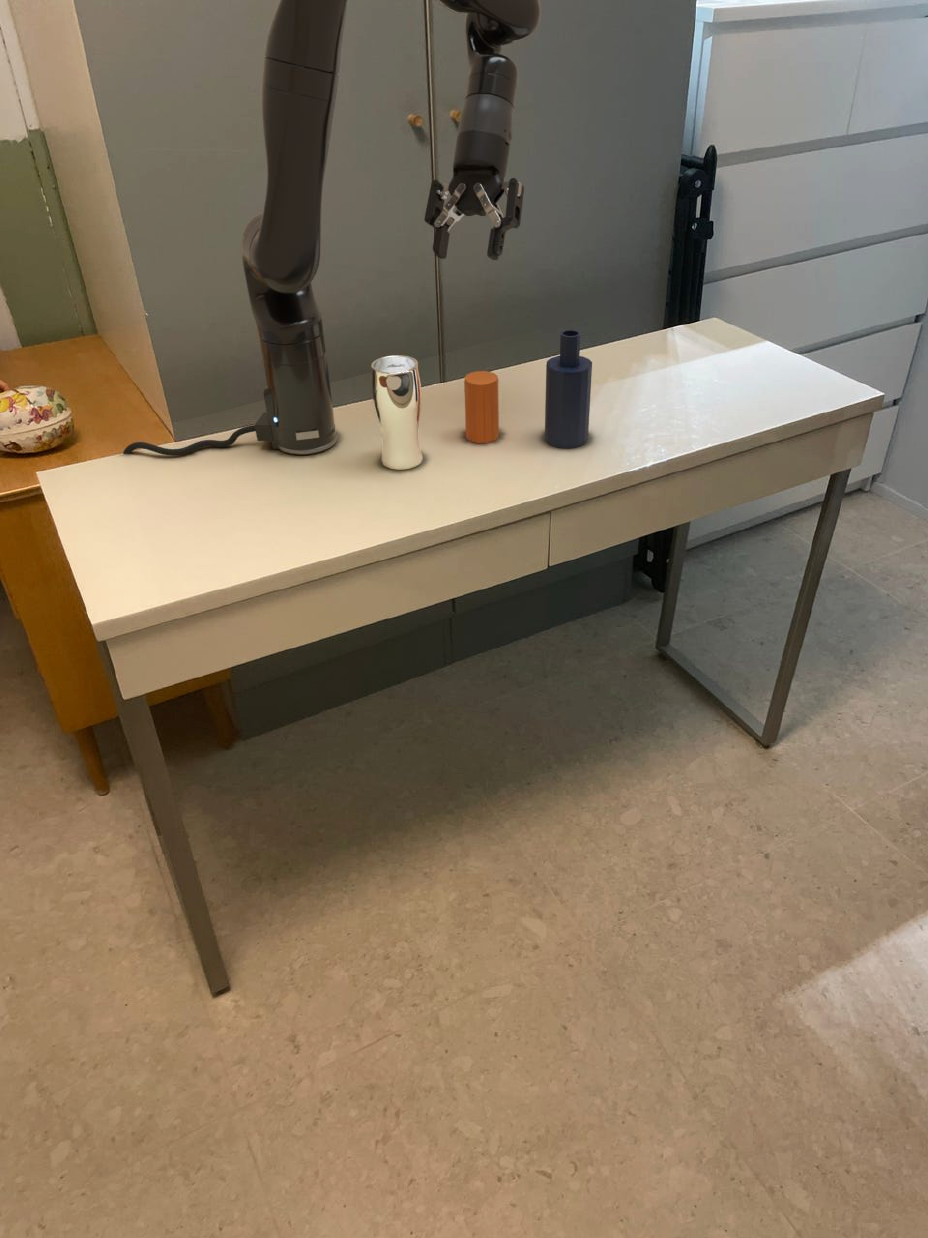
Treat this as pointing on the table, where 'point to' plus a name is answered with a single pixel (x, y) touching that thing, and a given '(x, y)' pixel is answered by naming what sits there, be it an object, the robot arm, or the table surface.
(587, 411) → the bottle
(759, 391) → the table surface
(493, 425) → the grooved orange cylinder
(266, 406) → the robot arm
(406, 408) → the silver metal tumbler
